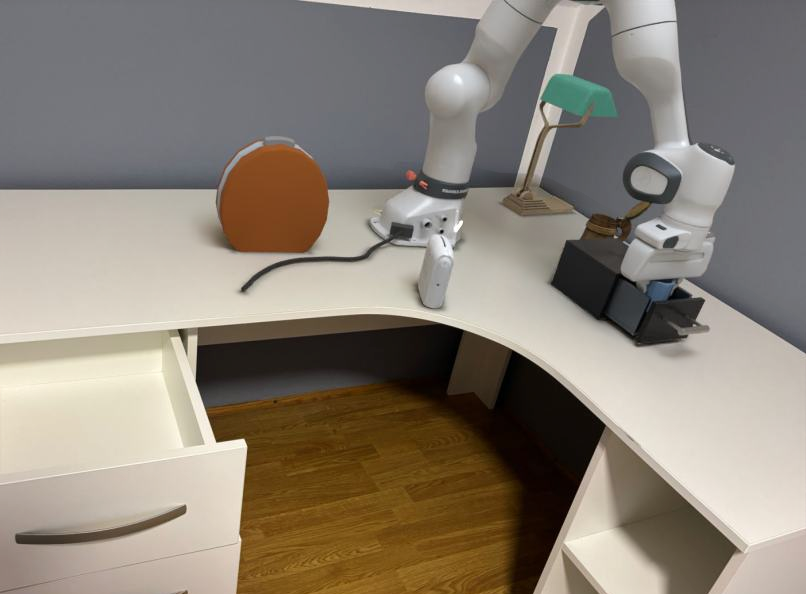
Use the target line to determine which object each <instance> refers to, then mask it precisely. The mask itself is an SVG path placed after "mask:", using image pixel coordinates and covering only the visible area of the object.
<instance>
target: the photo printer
mask: <svg viewBox="0 0 806 594" xmlns="http://www.w3.org/2000/svg"><path fill="white" fill-rule="evenodd" d="M454 263H455V255H454V250H453V248H452V247H451V244H450V242H449V241H448V239H447V238H446V237H445V236H443V235H438V234H435V235H433V236H432V237H430V239H429V241H428V243H427V247H426V248H425V252H424V257H423V260H422V264H421V268H420V272H419V277H418V280H417V288H418V292H419V295H420V299H421V302H422V304H423V306H425V307H427V308H430V309H439V308H442V306H443V304H444V301H445V297H446V294H447V291H448V288H449V283H450V279H451V276H452V272H453V268H454Z"/></svg>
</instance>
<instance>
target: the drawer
mask: <svg viewBox="0 0 806 594" xmlns="http://www.w3.org/2000/svg"><path fill="white" fill-rule="evenodd" d="M693 296H694V295H693V294H692V293H690V292H689V291H687V290H686V289H684V288H682V287H681V286H679V285H678V286H677V287H676V288H675V289H674V291H673V293H672V295H671V296H669V297H668V299H667V300H663V301H652V303H651V305H650V302H651V300H652V298H651V297H649V296H648V295H646V294H645V293H643V292H642V291H641V290H639V289H638V288H637V284H636V281H631V280H629V279H628V278H626V277H618V278H617V281H616V283H615V285H614V288H613V290H612V293H611V295H610V298H609V300H608V303H607V305H606V307H605V310H604V312H603V313H604V314H605V315H606V316H608V317H609V319H611V320H612V321H613V322H615V324H617V325H618V326H620V327H621V328H622V329H624V330H625V331H626V332H628V333H629V334H630V335H632V336H636V337H635V338H634V342H636V343H637V344H639V345H640V344H651V343H657V342H658V343H659V342H666V341H675V340H682V339H688V337H689V335H695V334H696V335H697V334H704V333H709V332H710V326H709V325H708V324H702V323H700V322H699V321H698V320H697V318H698V317H699V314H700V312H701V310H702V308H703V306H704V304H705V302H706V299H705V298H703V297H701V296H698V297H693ZM649 305H650V308H649V310H648V312H647V309H648V307H649Z"/></svg>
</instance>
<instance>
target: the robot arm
mask: <svg viewBox="0 0 806 594" xmlns="http://www.w3.org/2000/svg"><path fill="white" fill-rule="evenodd" d="M561 1H562V0H492V1H491V2H490V3H489V5H488V7H487V9H486V10H485V11H484V14H483V15H482V16H481V18H480V20H479V21H478V23H477V24H476V27H475V34H474V38H473V41H472V44H471V46H470V49H469V51H468V53H467V54H466V56H465V58H464V59H463V60H462V61H461V62H460V63H454V64H453V63H452V64H448V65H446V66H443V67H442V68H441V69H439V70H437V71H436V72H435V73H433V74H432V75H431V76H430V78H429V79H428V81H427V83H426V85H425V88H424V99H425V104H426V107H427V108H428V110H429V132H428V133H429V135H428V141H427V147H426V151H425V156H424V160H423V164H422V165H423V166H422V168H421V169H420V170H419V172H418V174H417V173H416V172H414V171H413V170H408V171H407V172H406V173H405V177H406V179H408V180H409V181H410V182H412V184H411V186H409V187H407V188H406V189H404V190H402V191H401V192H399V193H398V194H396V195H394V196H393V197H391V198H389V199H388V200H387V201H386V202H385V203H384V205H383V208H382V210H381V213H380V216H372V217H370V220H369V226H370V228H371V230H373V231H374V233H376V234H377V236H379V237H380V238H382V241H380V242H378V243H376V244H374V245H373V246H371V247H370V248H369V249H368V250H367V251H366V252H365V253H364V254H362V255H358V256H334V255H333V256H332V255H329V256H328V255H327V256H325V255H323V256H303V257H293V258H288V259H284V260H280V261H277V262H275V263H272V264H270V265H268V266H266V267H264V268H262V269H261V270H259V271H258V272H256V273H254V275H252V276H251V278H249V280H247V281H246V283H244V285H242V287H241V288H240V290H241V292H245V291H246V290H247V289H249V287H250V286H251V285H252V284H253V283H254V282H255V281H256V280H258V279H259V277H261V276H262V275H264V274H266V273H268V272H269V271H271V270H273V269H275V268H278V267H280V266H281V267H282V266H284V265H289V264H293V263H300V262H319V261H338V262H339V261H340V262H355V261H361V260H364V259H366V258H368V257H369V256H370V255H371V254H372V253H373V251H375V250H376V249H378V248H380V247H382V246H384V245H386V244H389V243H390V244H393V245H395V246H406V247H407V246H408V247H423V248H424V247H426V248H427V243H428V241H429V239H430V237H432V236H433V235H435V234H438V235H443V236H445V237H446V238H447V239H448V241H449V242H450V244H451V247H452V249H454V248H456V243H458V242H460V240H461V238H462V228H461V227H462V225H463V222H464V221H463V220H462V217H463V210H464V203H465V200H466V198H467V196H468V193H469V189H470V185H471V180H470V177H471V174H472V170H473V166H474V164H475V163H474V162H475V160H476V159H475V158H476V154H477V150H478V144H477V142H476V125H477V118H478V116H479V114H481V113H485V112H487V111H488V110H490V109H491V108H493V107H494V106H495V105H496V104H497V103H498V102H499V101H500V100H501V98H502V97H503V95H504V93H505V89H506V86H507V84H508V82H509V80H510V78H511V77H512V74H513V72H514V70H515V67H516V66H517V63H518V62H519V60H520V58H521V56H522V55H523V53H525V51H526V49H527V47H528V46H529V45H530V43H531V42H532V41H533V39H534V37H535V36H536V34H537V33H538V31H539V30H540V29H541V28H542V26H543V24H544V23H545V22H546V20H547V19H548V17H549V15H550V14H551V13H552V11H553V10H554V9H555V7H556V6H557V5H558V4H560V2H561ZM569 1H570V2H573V3H576V4H579V5H583V6H590V5H593V6H602V7H604V8H605V9H606V11H607V13H608V16H609V17H608V18H609V23H610V35H611V36H610V37H611V49H612V56H613V61H614V64H615V67H616V71H617V73H618V74H619V75H620V76H621V77H622V79H623V80H625V81H626V82H628V83H629V84H631V85H632V86H633V87H635V88H636V89H637V90H638V91H639V92H640V93H641V94H642V95H643V96H644V98H645V100H646V101H647V104H648V108H649V112H650V120H651V126H652V133H653V139H654V145H653V149H649V150H644V151H641V152H639V153H637V154H635V155H633V156H632V157H631V158H630V159H629V160H628V161H627V163H626V165H625V166H624V169H623V171H622V184H623V188H624V189H625V192H626V193H627V194H628V195H629V196H630V197H631V198H632V199H634V200H637V201H640V202H642V201H644V202H649V203H653V204H654V205H655V204H656V205H662V206H663V210H662V212H661V215H658V216H656V217H654V218H653V219H650V220H648V221H645V222H643V223H640V224H638V225H637V226H636V228H635V230H634V236H636V237H635V238H633V240H632V241H630V244H629V245H628V246H629V247H628V250H627V252H626V254H625V256H624V259H623V262H622V264H621V268H620V269H621V273H622V275H623V276H625V277H626V278H628V279H629V280H631V281H636V284H637V288H638V289H639V290H641V291H642V292H643V293H645V294H646V295H647V294H648V292H649V291H648V290H646V284H649V283H650V280H659V279H674V281H675V284H674V286H673V289H672V291H671V293H670V295H669V296H671V295H672V293H673V291H674V289H675V288H676V287H677V286H679V285H681V283H683V280H684V279H685V278H687V279H688V278H700V277H702V276H703V275H704V274H705V272H706V271H707V269H708V267H709V264H710V261H711V259H712V255H713V252H714V243H715V241H716V236H715V233H714V232H713V231H711V228H712V225H713V222H714V216H715V213H716V212H717V210H718V209H719V207H720V206H722V204H723V202H724V199H725V197H726V195H727V194H728V190H729V187H730V185H731V183H732V180H733V176H734V173H735V168H736V161H735V159H734V157H733V156H732V155H731V154H730V152H728V151H727V150H726V149H724V148H722V147H720V146H718V145H715V144H712V143H709V142H705V141H704V142H702V141H700V142H699V141H698V142H697V143H693V141H692V137H691V133H690V126H689V119H688V110H687V104H686V96H685V95H686V94H685V89H684V84H683V77H682V70H681V63H680V52H679V50H680V49H679V34H678V33H679V31H678V19H677V9H676V1H675V0H569Z"/></svg>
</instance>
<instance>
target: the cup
mask: <svg viewBox="0 0 806 594" xmlns="http://www.w3.org/2000/svg"><path fill="white" fill-rule="evenodd" d="M674 284H675V281H674V279H659V280H650V283H649V284H646V290H648V291H649V292H648V294H647V295H648V296H649V297H651V298H652V300H651V302H650V305H651V303H652V301H663V300H667V299H668V297H669V295H670V293H671V291H672V289H673V286H674ZM650 305H649V307H648V309H647V312H648V310H649V308H650Z"/></svg>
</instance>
